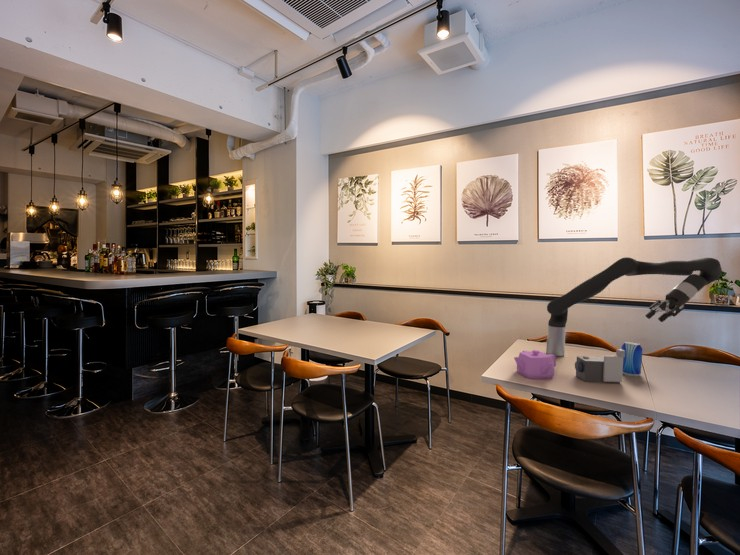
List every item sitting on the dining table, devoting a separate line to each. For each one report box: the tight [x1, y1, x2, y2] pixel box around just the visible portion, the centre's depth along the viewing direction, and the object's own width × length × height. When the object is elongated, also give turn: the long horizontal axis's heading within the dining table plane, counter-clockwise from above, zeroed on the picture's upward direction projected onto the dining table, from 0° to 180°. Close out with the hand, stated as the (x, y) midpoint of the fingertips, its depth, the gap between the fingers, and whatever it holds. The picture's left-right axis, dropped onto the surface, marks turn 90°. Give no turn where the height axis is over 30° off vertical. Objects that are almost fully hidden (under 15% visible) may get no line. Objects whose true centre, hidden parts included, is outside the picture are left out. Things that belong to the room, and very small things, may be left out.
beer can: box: [621, 341, 643, 378], centre depth 177 cm, size 8×8×16 cm
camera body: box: [574, 355, 621, 384], centre depth 169 cm, size 18×8×11 cm, turn 86°
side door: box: [603, 348, 625, 383], centre depth 164 cm, size 8×3×15 cm, turn 86°
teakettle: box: [513, 349, 556, 380], centre depth 175 cm, size 17×17×12 cm
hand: (653, 318), depth 161 cm, fingers open, 7 cm apart
